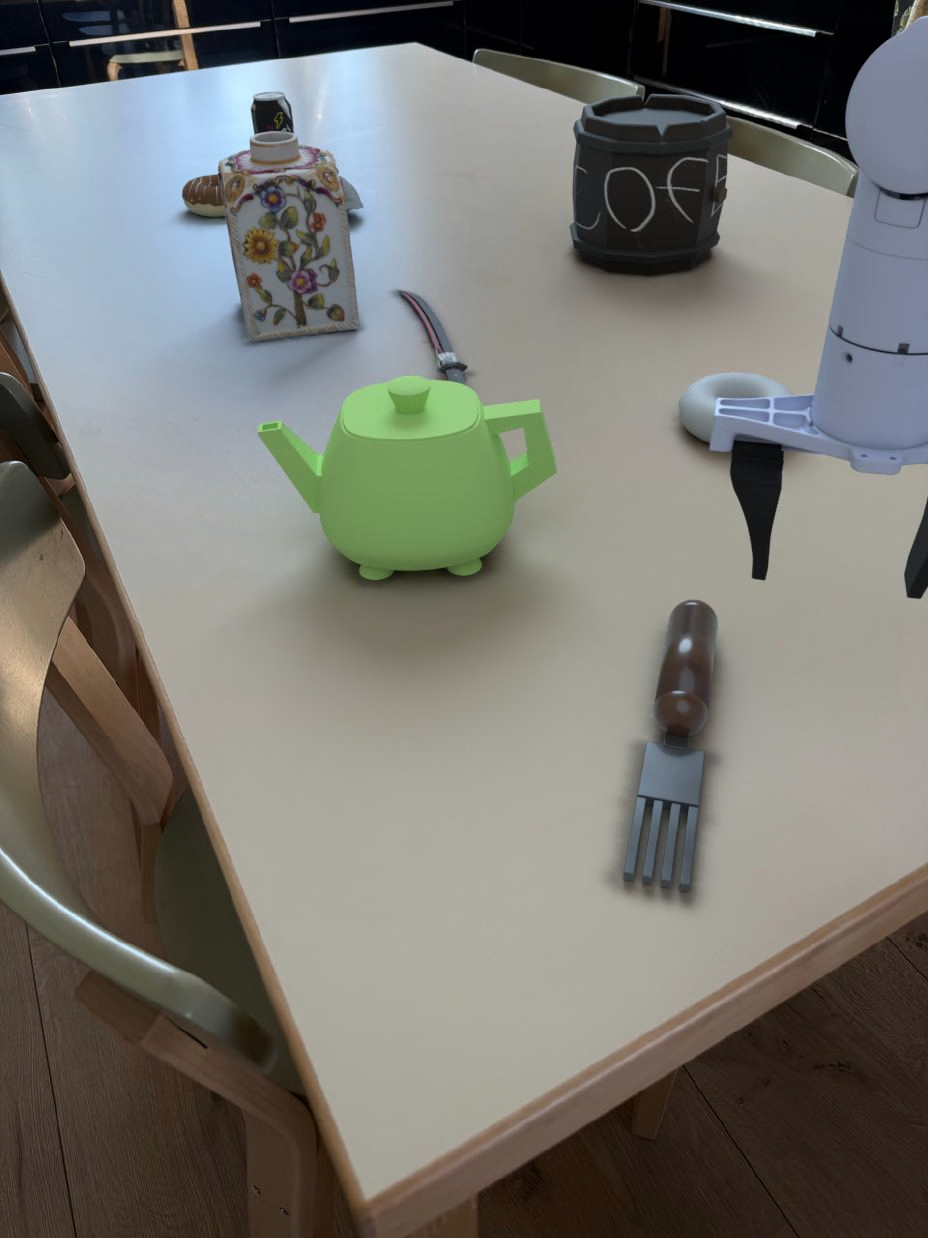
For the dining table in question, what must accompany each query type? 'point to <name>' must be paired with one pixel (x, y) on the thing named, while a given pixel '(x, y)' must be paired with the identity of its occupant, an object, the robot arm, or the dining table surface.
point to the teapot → (416, 474)
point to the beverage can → (271, 113)
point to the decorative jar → (289, 238)
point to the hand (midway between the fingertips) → (834, 578)
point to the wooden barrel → (649, 182)
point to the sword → (448, 357)
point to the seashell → (351, 195)
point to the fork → (676, 741)
